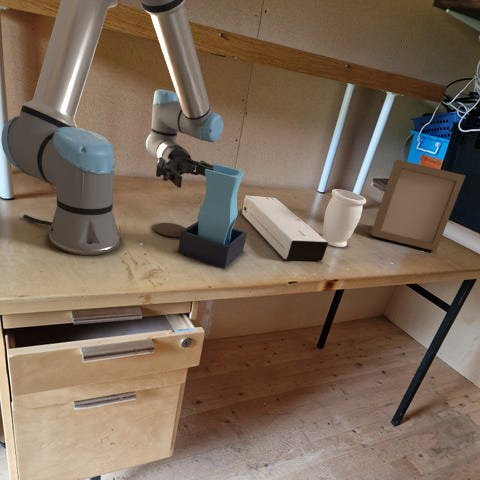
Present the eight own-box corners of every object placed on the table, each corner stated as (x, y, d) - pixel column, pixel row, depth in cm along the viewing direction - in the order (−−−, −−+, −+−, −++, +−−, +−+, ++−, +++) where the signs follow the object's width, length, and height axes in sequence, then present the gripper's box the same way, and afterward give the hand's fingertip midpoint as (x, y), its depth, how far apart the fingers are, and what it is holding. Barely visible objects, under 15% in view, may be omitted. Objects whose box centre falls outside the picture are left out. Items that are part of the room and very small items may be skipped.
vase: (201, 240, 108) (214, 163, 98) (230, 248, 108) (245, 171, 97) (192, 251, 102) (204, 169, 91) (222, 260, 101) (238, 178, 90)
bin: (178, 252, 101) (180, 231, 98) (200, 237, 112) (203, 217, 109) (224, 268, 99) (228, 247, 96) (242, 252, 109) (247, 232, 106)
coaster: (147, 230, 108) (147, 229, 108) (164, 221, 116) (164, 220, 116) (177, 241, 107) (178, 239, 106) (193, 231, 114) (193, 230, 114)
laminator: (321, 262, 113) (328, 242, 110) (282, 262, 108) (288, 240, 105) (271, 215, 139) (276, 197, 135) (238, 213, 134) (241, 194, 130)
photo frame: (434, 253, 139) (471, 179, 126) (372, 238, 140) (401, 162, 126) (424, 238, 152) (456, 169, 138) (367, 224, 152) (393, 154, 139)
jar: (311, 234, 131) (325, 187, 123) (338, 235, 135) (353, 190, 127) (327, 248, 123) (344, 199, 115) (355, 249, 127) (373, 202, 119)
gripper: (211, 173, 126) (244, 198, 112) (130, 169, 114) (156, 196, 99) (215, 148, 122) (250, 170, 108) (132, 140, 110) (159, 164, 95)
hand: (205, 183), depth 104 cm, fingers open, 13 cm apart
